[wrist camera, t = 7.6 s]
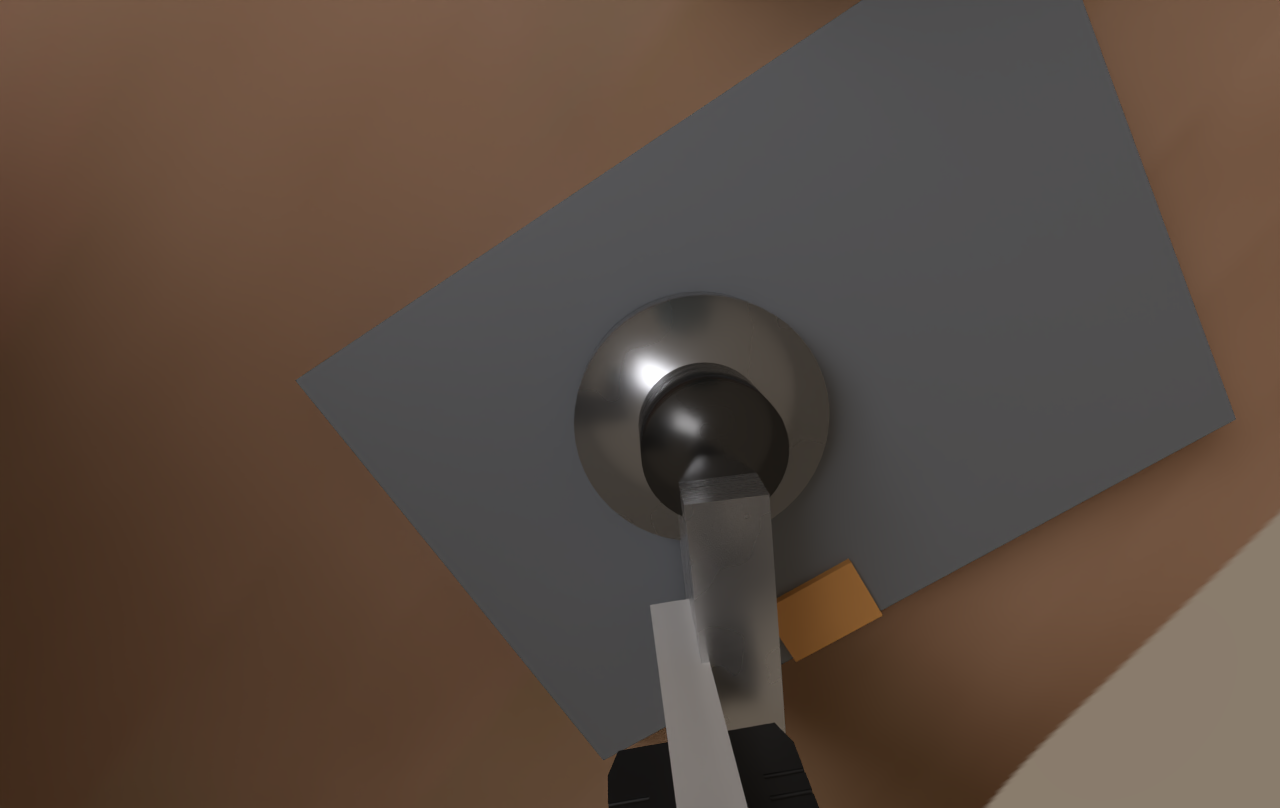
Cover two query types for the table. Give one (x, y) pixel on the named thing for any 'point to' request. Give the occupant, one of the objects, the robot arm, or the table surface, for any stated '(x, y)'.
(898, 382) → the dial plate
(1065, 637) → the table surface
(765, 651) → the dial lever
